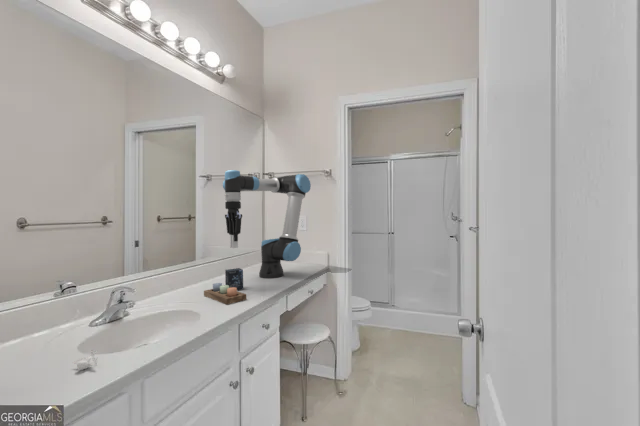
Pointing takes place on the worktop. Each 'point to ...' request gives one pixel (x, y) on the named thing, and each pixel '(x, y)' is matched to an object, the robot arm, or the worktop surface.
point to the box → (234, 278)
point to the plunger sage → (224, 289)
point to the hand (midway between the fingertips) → (234, 247)
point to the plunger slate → (216, 287)
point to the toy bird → (86, 361)
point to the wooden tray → (224, 297)
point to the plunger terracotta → (232, 292)
